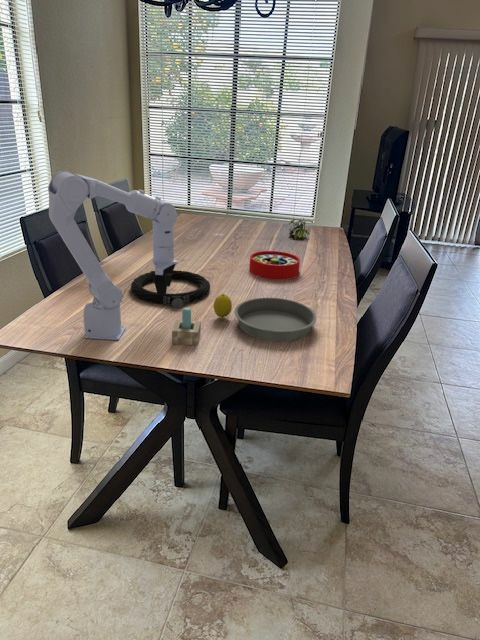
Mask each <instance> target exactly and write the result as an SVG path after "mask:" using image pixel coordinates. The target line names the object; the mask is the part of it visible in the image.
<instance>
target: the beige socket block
mask: <svg viewBox="0 0 480 640" xmlns="http://www.w3.org/2000/svg"><path fill="white" fill-rule="evenodd" d="M201 325H202V323H201V320H200V321H197V320H191V329H182V320H181V319H175V322H174V324H173V327H172V328H171V345H179V346H180V345H183V346H184V345H185V346H198V345H199V343H200V338H201Z"/></svg>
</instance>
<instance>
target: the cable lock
mask: <svg viewBox="0 0 480 640" xmlns="http://www.w3.org/2000/svg"><path fill="white" fill-rule="evenodd" d="M150 272H151V271H149V272H145V273H143V274H141V275H139V276H137V277H135V278H134V279H133V281H132V282H131V283H130V289H131V292H132V293H133V294H134V295H135V297H137V298H138V299H141V300H142V301H145V302H149V303H152V304H163V305H164V306H171V308H174V309H180V308H182V307H183V306H184V305H188V304H189V303H193V302H195V301H199V300H202V299H203V298H204V297H206V296H207V295H208V293H209V292H210V291H211V284H210V281H209V280H207V278H205V276H202V275H200V274H198V273H194V272H191V271H184V270H173V273H172V279H171V280H175V281H179V280H180V281H184V282H190V283H193V284H195V285H197V286H199V287H198V288H197V289H194V290H191V291H187V292H179V293H167V292H166V295H165V296H158V294H157V291H151V290H148V289H146V288H143V286H144V285H146V284H148V283H152V282H153V283H154V281H153V279H152V278H151V276H150Z"/></svg>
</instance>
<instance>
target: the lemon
mask: <svg viewBox="0 0 480 640" xmlns="http://www.w3.org/2000/svg"><path fill="white" fill-rule="evenodd" d="M232 307H233V304H232V300H231V298H230V297H229V296H228V295H227V294H225V293H221V294H219V295H217V296H216V297H215V299H214V302H213V311H214V313H215V314H216V316H218V317H220V319H224V318H225V317H228V316H229V315H230V314H231V312H232V309H233V308H232Z"/></svg>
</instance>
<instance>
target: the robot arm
mask: <svg viewBox="0 0 480 640" xmlns="http://www.w3.org/2000/svg"><path fill="white" fill-rule="evenodd" d="M47 191H48V217H49V219H50V221H51V223H52V224H53V227H54V228H55V229H56V231H57V233H58V234H59V236H60V237H61V239H62V241H63V242H64V244H65V246H66V247H67V248H68V250H69V252H70V254H71V256H72V257H73V258H74V260H75V262H76V263H77V265H78V266H79V268H80V270H81V272H82V273H83V274H84V276H85V280H86V281H87V284H88V291H89V293H90V295H91V296H93V299H92V302H87V303H85V306H84V309H83V324H84V334H85V335H84V338H85V339H93V340H96V339H97V340H110V341H111V340H114V341H118V340H120V339H121V337H122V335H123V334H124V332H125V331H126V329H127V327H126V326H125V325H122V316H121V315H122V314H121V302H122V301H123V291H122V289H121V288H119V287H118V286H117V285H115V283H113V281H112V279H111V278H110V277H109V276H108V274H107V273H106V272H105V270H104V268H103V267H102V265H101V263H100V261H99V260H98V259H97V256H96V255H95V253H94V252H93V250H92V248H91V246H90V244H89V243H88V241H87V239H86V238H85V236H84V235H83V232H82V231H81V229H80V227H79V225H78V224H77V222H76V220H75V219H74V218H75V215H76V213H77V210H78V208H79V207H80V206H81V205H82V204H83V203H84V202H85V200H86V199H89V200H90V199H91V200H92V199H94V198H96V197H101V198H104V199H107V200H111V201H113V202H117V203H119V204H123V205H124V206H125V208H126V210H127V211H128V212H129V213H132V214H135V215H138V216H141V217H143V218H147V219H149V220H152V221H151V222H152V257H153V259H152V264H153V266H154V270H151V271H149V272H150V276H151V278H152V279H153V283H154V286H155V290H156V291H155V292H157V294H158V296H165V295H166V293H167V291H168V287H171V284H172V280H173V279H172V273H173V270H174V269H175V267H176V265H178V263H179V260H178V259H175V257H174V256H175V249H174V248H175V247H174V246H175V244H174V239H175V236H174V231H175V229H174V228H175V227H174V224H175V222H176V221H177V218H178V213H177V210H176V208H175V206H174V205H173V204H171V203H170V202H166V201H164V200H162V199H161V197H158V196H155V197H154V196H151V195H150V194H147V193H146V191H145V190H142V189H138V190H136V189H134V190H131V191H129V192H127V191H124V190H122V189H120V188H117V187H115V186H112V185H110V184H108V183H105V182H103V181H100V180H98V179H96V178H93V177H90V176H86V175H84V174H83V175H82V174H77V173H74V174H73V173H72V172H70V171H67V170H60V171H57V172H56V173H54V174H53V175H52V177H51V179H50V182H49V183H48V186H47Z"/></svg>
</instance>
